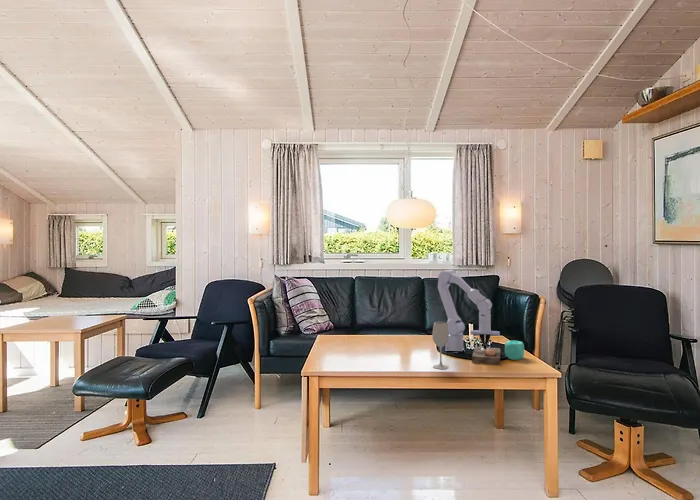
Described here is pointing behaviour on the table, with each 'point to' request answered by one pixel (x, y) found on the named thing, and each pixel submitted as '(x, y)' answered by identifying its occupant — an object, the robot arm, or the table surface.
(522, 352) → the decorative dice
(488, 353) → the terracotta button
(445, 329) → the wineglass
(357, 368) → the table surface
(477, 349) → the button panel
